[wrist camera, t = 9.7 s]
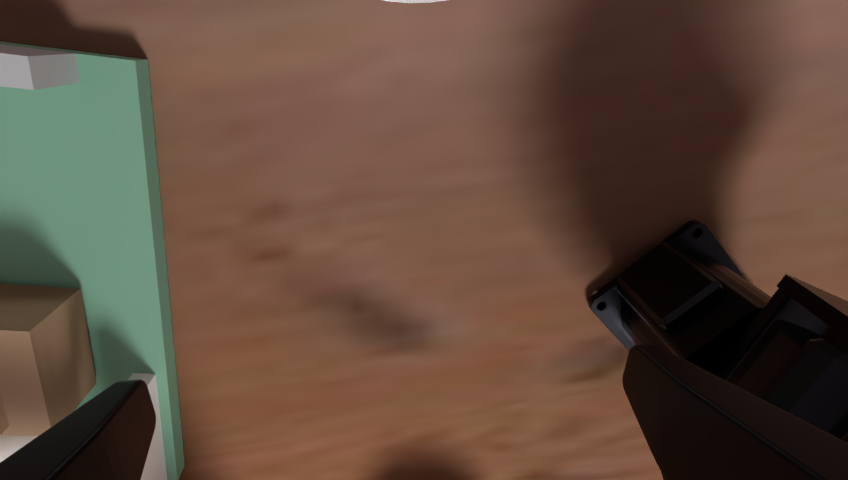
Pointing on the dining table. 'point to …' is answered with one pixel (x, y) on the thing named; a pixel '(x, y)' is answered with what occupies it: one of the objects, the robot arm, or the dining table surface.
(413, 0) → the cup
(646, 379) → the robot arm
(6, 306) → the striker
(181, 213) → the dining table surface
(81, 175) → the pitch
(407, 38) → the dining table surface
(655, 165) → the dining table surface
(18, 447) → the ball
